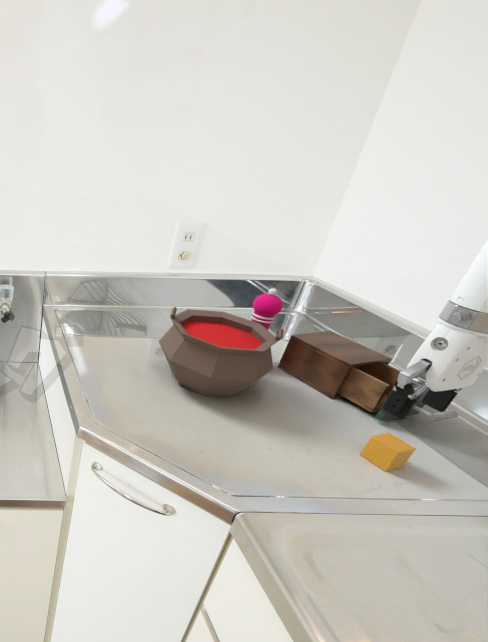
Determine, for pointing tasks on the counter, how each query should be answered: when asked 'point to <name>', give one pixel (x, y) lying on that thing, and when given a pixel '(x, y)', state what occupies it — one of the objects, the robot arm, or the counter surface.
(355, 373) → the drawer
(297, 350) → the cabinet
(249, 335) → the brown cooking pot
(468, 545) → the counter surface
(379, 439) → the block
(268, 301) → the pepper mill
